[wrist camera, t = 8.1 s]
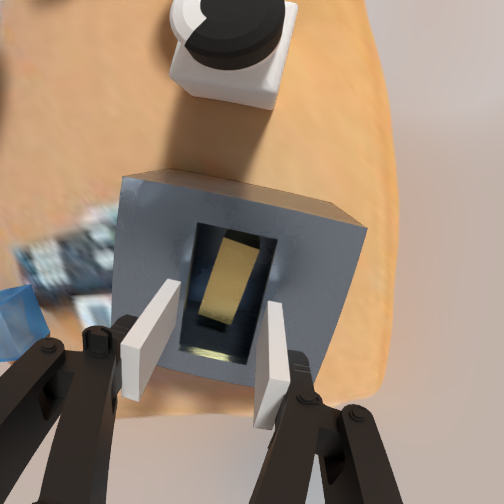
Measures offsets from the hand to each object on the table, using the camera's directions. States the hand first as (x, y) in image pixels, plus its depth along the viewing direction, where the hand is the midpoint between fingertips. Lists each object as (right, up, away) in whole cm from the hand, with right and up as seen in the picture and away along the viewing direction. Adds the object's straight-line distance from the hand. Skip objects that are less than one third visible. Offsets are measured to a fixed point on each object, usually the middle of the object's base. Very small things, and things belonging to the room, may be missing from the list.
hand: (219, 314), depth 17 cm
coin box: (0, +3, +11) cm, 12 cm away
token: (0, +3, +11) cm, 11 cm away
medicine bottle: (+1, +19, +7) cm, 20 cm away
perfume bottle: (-26, -4, +15) cm, 30 cm away
